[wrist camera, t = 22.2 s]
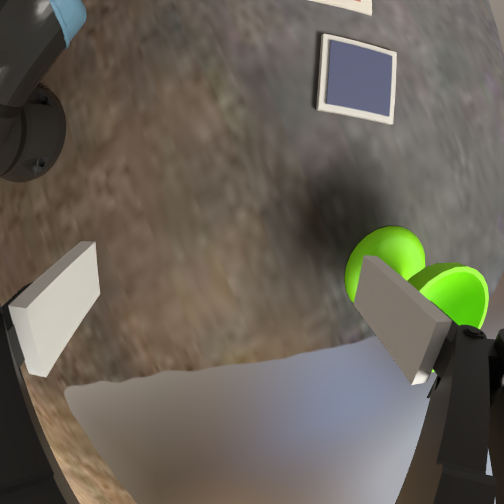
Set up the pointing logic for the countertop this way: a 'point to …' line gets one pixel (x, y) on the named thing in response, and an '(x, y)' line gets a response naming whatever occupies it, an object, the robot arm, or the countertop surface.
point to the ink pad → (356, 79)
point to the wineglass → (423, 274)
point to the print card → (351, 5)
